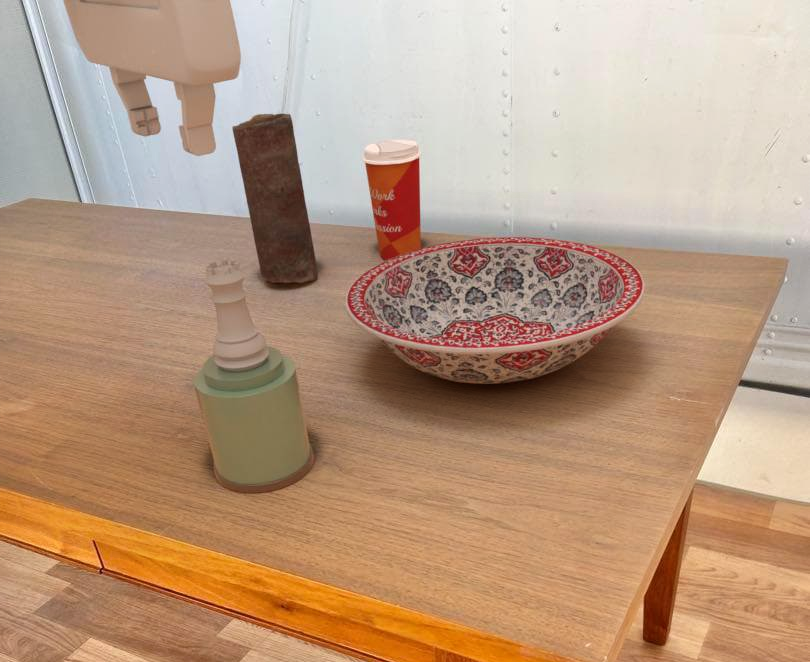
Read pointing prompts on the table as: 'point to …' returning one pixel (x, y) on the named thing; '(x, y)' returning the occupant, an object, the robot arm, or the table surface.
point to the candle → (276, 198)
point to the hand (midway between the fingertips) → (172, 143)
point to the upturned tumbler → (255, 424)
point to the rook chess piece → (233, 320)
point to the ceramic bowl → (495, 306)
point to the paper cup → (395, 195)
